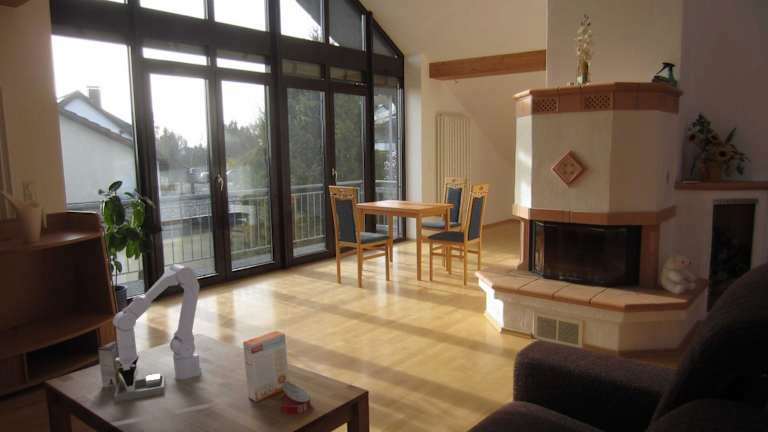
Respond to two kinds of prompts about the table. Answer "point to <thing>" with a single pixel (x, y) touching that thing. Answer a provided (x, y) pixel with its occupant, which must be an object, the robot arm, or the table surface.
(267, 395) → the cracker box
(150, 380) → the steel block
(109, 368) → the coffee box
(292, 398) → the canned food
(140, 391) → the tote
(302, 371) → the table surface
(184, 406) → the table surface
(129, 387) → the lightbulb
